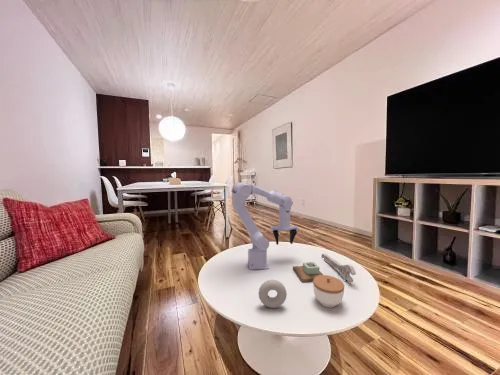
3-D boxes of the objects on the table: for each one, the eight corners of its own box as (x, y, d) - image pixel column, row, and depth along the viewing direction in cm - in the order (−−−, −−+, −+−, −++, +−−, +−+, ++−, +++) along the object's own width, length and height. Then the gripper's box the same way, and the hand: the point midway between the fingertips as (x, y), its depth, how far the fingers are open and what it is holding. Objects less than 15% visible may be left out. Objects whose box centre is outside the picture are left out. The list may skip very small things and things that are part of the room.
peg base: (301, 282, 91) (302, 270, 91) (292, 269, 103) (293, 258, 103) (325, 280, 93) (326, 268, 92) (314, 268, 105) (314, 257, 104)
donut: (285, 304, 77) (286, 278, 76) (287, 310, 74) (287, 283, 73) (258, 303, 77) (258, 277, 76) (258, 309, 74) (258, 282, 73)
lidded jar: (307, 302, 78) (308, 278, 77) (320, 290, 86) (320, 268, 85) (336, 316, 71) (338, 289, 70) (347, 301, 79) (348, 277, 78)
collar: (307, 274, 95) (307, 268, 95) (302, 268, 100) (302, 262, 100) (319, 273, 96) (319, 267, 95) (313, 267, 101) (314, 261, 101)
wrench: (324, 263, 117) (356, 287, 87) (321, 263, 117) (352, 287, 87) (324, 248, 117) (355, 267, 87) (321, 248, 117) (351, 267, 87)
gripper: (272, 220, 106) (272, 247, 107) (300, 220, 108) (300, 245, 109) (269, 217, 113) (269, 242, 114) (295, 216, 115) (295, 241, 116)
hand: (284, 243), depth 112 cm, fingers open, 7 cm apart
